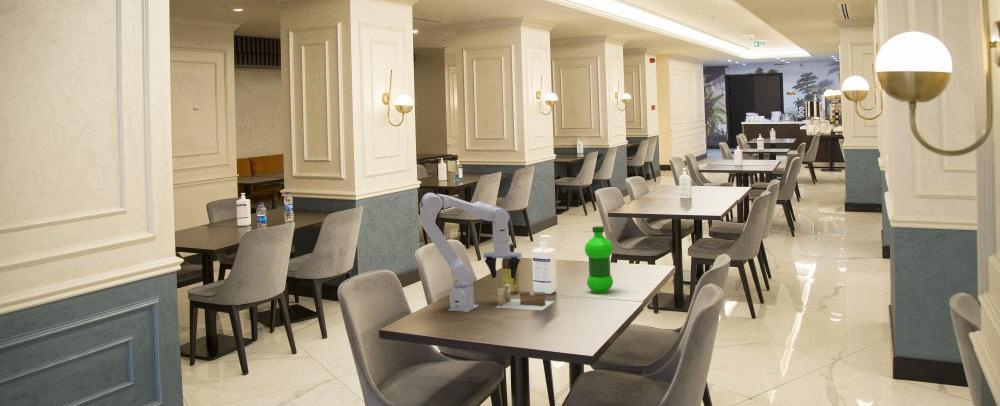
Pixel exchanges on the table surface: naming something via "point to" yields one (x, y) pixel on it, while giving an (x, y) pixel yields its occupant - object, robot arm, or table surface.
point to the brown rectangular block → (532, 298)
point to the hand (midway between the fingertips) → (503, 277)
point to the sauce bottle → (507, 274)
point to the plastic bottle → (599, 261)
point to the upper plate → (504, 294)
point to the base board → (516, 305)
